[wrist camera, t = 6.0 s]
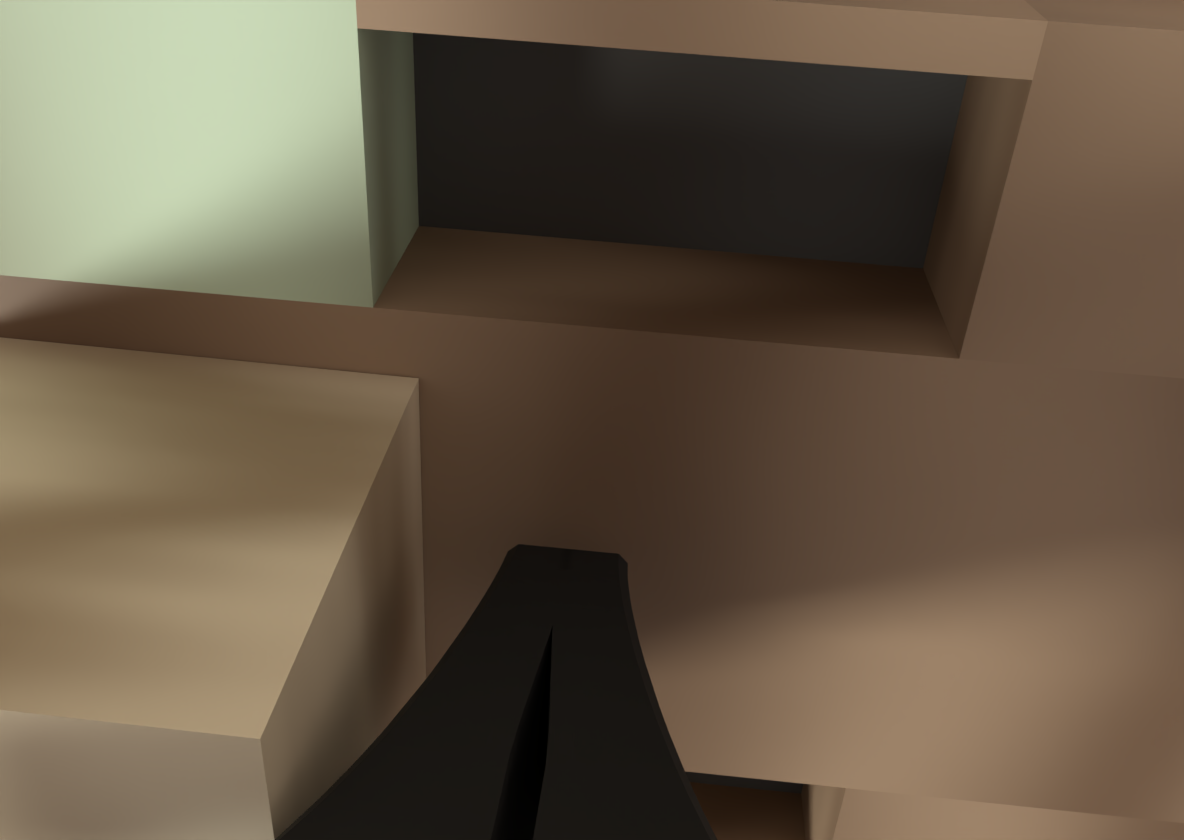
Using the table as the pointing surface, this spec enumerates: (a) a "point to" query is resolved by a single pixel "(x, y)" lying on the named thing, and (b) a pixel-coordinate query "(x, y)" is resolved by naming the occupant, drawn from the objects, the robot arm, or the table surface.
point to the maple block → (198, 588)
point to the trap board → (702, 344)
